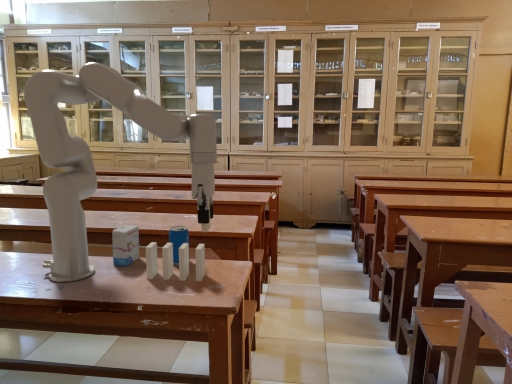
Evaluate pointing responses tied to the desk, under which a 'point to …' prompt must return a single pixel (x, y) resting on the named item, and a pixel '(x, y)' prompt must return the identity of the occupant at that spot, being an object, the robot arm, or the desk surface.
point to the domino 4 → (200, 262)
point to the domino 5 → (207, 226)
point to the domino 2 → (167, 261)
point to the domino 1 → (151, 260)
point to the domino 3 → (184, 261)
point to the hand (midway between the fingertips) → (205, 220)
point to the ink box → (125, 245)
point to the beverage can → (178, 240)
